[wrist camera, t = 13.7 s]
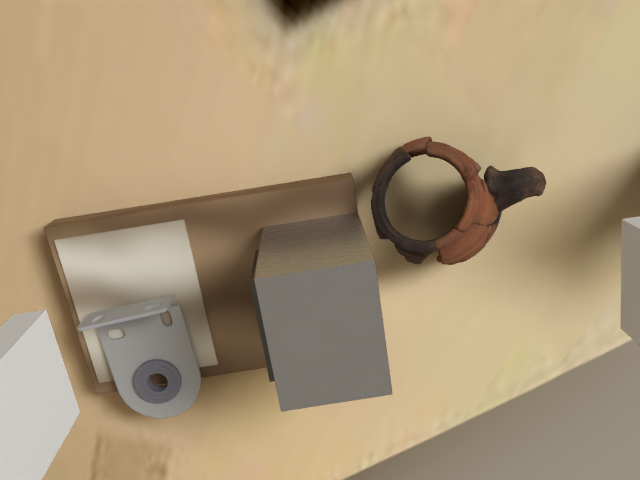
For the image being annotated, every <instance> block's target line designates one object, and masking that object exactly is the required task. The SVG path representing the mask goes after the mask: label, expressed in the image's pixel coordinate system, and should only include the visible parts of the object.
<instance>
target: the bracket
mask: <svg viewBox="0 0 640 480" xmlns="http://www.w3.org/2000/svg"><path fill="white" fill-rule="evenodd" d="M174 299H175V294H173V295H169V296H164V297H160V298H155V299H151V300H147V301H142V302H138V303H133V304H129V305H125V306H120V307H116V308H111V309H107V310H103V311H98V312H94V313H90V314H89V315H88V316H87V317H86V318H85V319H84V320H83V321H82V322H81V323H80V324H79V326H78V327H77V330H78V331H84V330H88V329H92V328H97V331H98V334H99V337H100V340H101V343H102V346H103V348H104V351H105V354H106V357H107V360H108V363H109V366H110V369H111V372H112V374H113V377H114V380H115V383H116V386H117V389H118V391H119V394H120V395H121V397H122V399H123V400H124V401H125V403H126V404H127V405H128V406H129V407H131V408H132V409H133V410H135V411H136V412H138V413H140V414H142V415H145V416H148V417H153V418H168V417H173V416H176V415H179V414H180V413H182V412H184V411H185V410H187V409H188V408H189V407H190V406H191V405H192V404H193V403H194V402H195V400H196V398H197V396H198V394H199V391H200V387H201V373H200V369H199V366H198V363H197V359H196V356H195V353H194V350H193V346H192V343H191V340H190V337H189V333H188V330H187V327H186V324H185V320H184V317H183V314H182V310H181V307H180V304H178V305H174V306H171V304H172V302H173V301H174ZM167 310H168V311H169V312H170V314H171V318H172V321H173V323H172V324H171V325H169V326H167V325H165V324H164V323H163V321H162V318H161V315H160V313H163V312H166V311H167ZM100 319H102V320H101V321H98V320H100ZM96 321H98V322H96ZM114 329H123V330H124V331H125V336H124V337H121V338H116V339H112V338H110V337H109V335H108V332H109V331H110V330H114ZM153 373H160V374H162V375H164V376H165V377H166V378H167V381H168V384H167V385H164V386H157V385H155V384H153V383H152V381H151V380H150V375H151V374H153Z"/></svg>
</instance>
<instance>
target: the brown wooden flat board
mask: <svg viewBox="0 0 640 480" xmlns="http://www.w3.org/2000/svg"><path fill="white" fill-rule="evenodd" d="M354 212H358V211H357V204H356V197H355V190H354V182H353V178H352V175H351V173H346V174H340V175H333V176H327V177H321V178H315V179H308V180H302V181H296V182H289V183H283V184H277V185H271V186H264V187H258V188H252V189H245V190H239V191H233V192H227V193H220V194H214V195H208V196H201V197H195V198H189V199H182V200H176V201H170V202H164V203H157V204H151V205H145V206H138V207H132V208H126V209H120V210H113V211H107V212H101V213H94V214H88V215H82V216H76V217H69V218H63V219H57V220H54V221H52V222H51V223H50V224H48V225H47V226H46V227H44V229H45V233H46V236H47V239H48V242H49V245H50V248H51V252H52V255H53V258H54V261H55V264H56V267H57V270H58V274H59V277H60V280H61V283H62V286H63V289H64V292H65V296H66V299H67V302H68V305H69V308H70V311H71V315H72V318H73V321H74V324H75V327H76V330H77V327H78V326H79V324H80V323H81V322H82V321H83V320H84V319H85V318H86V317H87V316H88V315H89V314H90V313H94V312H98V311H103V310H107V309H111V308H116V307H120V306H125V305H129V304H133V303H138V302H142V301H147V300H151V299H155V298H160V297H164V296H169V295H173V294H175V299H174V301H173V302H172V304H171V306H174V305H178V304H180V307H181V310H182V314H183V317H184V320H185V324H186V327H187V330H188V333H189V337H190V340H191V343H192V346H193V350H194V353H195V356H196V359H197V363H198V366H199V369H200V373H201V377H207V376H213V375H220V374H226V373H233V372H239V371H246V370H252V369H258V368H265V367H267V365H266V360H265V355H264V350H263V346H262V341H261V336H260V331H259V326H258V321H257V317H256V312H255V307H254V302H253V297H252V292H251V288H250V278H251V273H252V267H253V262H254V256H255V251H256V250H259V247H260V241H261V235H262V229H263V227H266V226H272V225H278V224H285V223H291V222H297V221H304V220H310V219H316V218H323V217H329V216H335V215H342V214H348V213H354ZM160 315H161V318H162V321H163V323H164V324H165V325H167V326H169V325H171V324H172V323H173V321H172V318H171V314H170V312H169V311H168V310H167V311H166V312H163V313H160ZM101 320H102V319H100V320H98V321H101ZM98 321H96V322H98ZM77 333H78V337H79V340H80V343H81V346H82V349H83V352H84V355H85V359H86V362H87V365H88V368H89V371H90V374H91V378H92V381H93V384H94V387H95V390H96V393H97V394H98V393H104V392H111V391H117V390H118V389H117V386H116V383H115V380H114V377H113V374H112V372H111V369H110V366H109V363H108V360H107V357H106V354H105V351H104V348H103V346H102V343H101V340H100V337H99V334H98V331H97V328H92V329H88V330H84V331H78V330H77ZM108 335H109V337H110V338H112V339H116V338H121V337H124V336H125V331H124V330H123V329H114V330H110V331H109V332H108ZM150 380H151V381H152V383H153V384H155V385H156V384H162V383H168V381H167V378H166V377H165V376H164V375H162V374H160V373H153V374H151V375H150Z"/></svg>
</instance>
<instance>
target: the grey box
mask: <svg viewBox="0 0 640 480" xmlns="http://www.w3.org/2000/svg"><path fill="white" fill-rule="evenodd" d="M250 288H251V292H252V297H253V302H254V307H255V312H256V317H257V321H258V326H259V331H260V336H261V341H262V346H263V350H264V355H265V360H266V365H267V370H268V375H269V379H270V382H272V381H275V384H276V389H277V394H278V399H279V403H280V408H281V411H288V410H294V409H301V408H307V407H314V406H320V405H327V404H333V403H340V402H346V401H353V400H359V399H365V398H372V397H378V396H385V395H391V394H392V386H391V379H390V371H389V364H388V356H387V348H386V341H385V333H384V326H383V318H382V310H381V303H380V295H379V288H378V280H377V272H376V265H375V259H374V256H373V254H372V251H371V248H370V245H369V242H368V240H367V237H366V234H365V231H364V228H363V226H362V223H361V220H360V217H359V215H358V212H354V213H348V214H342V215H335V216H329V217H323V218H316V219H310V220H304V221H297V222H291V223H285V224H278V225H272V226H266V227H263V229H262V235H261V241H260V247H259V250H256V251H255V256H254V262H253V267H252V273H251V278H250Z"/></svg>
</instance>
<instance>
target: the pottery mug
mask: <svg viewBox="0 0 640 480" xmlns="http://www.w3.org/2000/svg"><path fill="white" fill-rule="evenodd" d="M422 154H427V155H428V156H429V157H435V158H439V159H442V160H445V161H447V162H448V163H450V164H451V165H452V166H453V167H455V168H456V169H457V171H458V172H459V173H460V175H461V177H462V179H463V180H464V182H465V186H466V192H467V197H466V206H465V209H464V212H463V214H462V217H461V218H460V220H459V221H458V223H457V224H456V225H455V227H453V228H452V229H451V230H450V231H449V232H447V233H446V234H444V235H443V236H441V237H438V238H435V239H433V240H429V241H417V240H413V239H410V238H407V237H405V236H403V235H402V234H400V233H399V232H398V231H396V230H395V229H394V227H393V226H392V225H391V223H390V221H389V219H388V217H387V214H386V210H385V192H386V189H387V187H388V184H389V182H390V180H391V178H392V176H393V175H394V174H395V172H396V171H397V170H399V168H400V167H401V166H403V165H404V164H405V163H407V162H409V161H410V160H411V157H414V156H418V155H422ZM480 170H481V167H480V166H479V164H478V163H476V162H475V161H474V160H473V159H472V158H470V157H468V156H467V155H466V154H465V153H464V152H462V151H460V150H458V149H456V148H453V147H451V146H449V145H447V144H444V143H439V142H432V139H431V137H424V138H420V139H417V140H414V141H411V142H409V143H407V144H405V145H404V146H403V147H399V148H398V149H396V150H395V151H394V152H393V154H392V155H391V156H390V157H389V158H388V160H387V161H386V162H385V163H384V165H383V166H382V168H381V169H380V171H379V173H378V175H377V177H376V180H375V182H374V185H373V189H372V192H373V195H372V200H371V209H372V214H373V218H374V222H375V227H376V231H377V234H378V236H379V238H380V239H389V240H390V241H392V242H393V243H394V244H395V248H396V249H397V251H398V252H399V253H400V254H401V255H403V256H404V257H405V259H406V260H407V261H409V262H412V263H415V264H421V263H422V262H423V260H424V259H426V258H427V257H428V256H429V255H430V254H432V253H433V252H434V251H436V250H438V251H439V255H440V256H438V257H437V261H438V262H442V264H448V265H452V264H456V263H459V262H464V261H466V260H468V259H470V258H471V257H473V256H475V255H476V254H477V253H478V252H480V251H481V250H482V249H483V248H484V247H485V245H486V243H487V242H488V241H489V240H490V238H491V237H492V235H493V234H494V232H495V230H496V228H497V226H498V223H499V220H500V217H501V213H502V211H503V210H504V209H506V208H508V207H509V206H511V205H513V204H515V203H518V202H520V201H522V200H524V199H525V198H528V197H532V196H540V195H542V194H543V191H544V189H545V185H546V179H545V177H544V174H543V173H542V172H540V171H539V170H537V169H536V168H534V167H526V168H521V169H514V170H509V171H498V170H497V169H495V168H494V167H493V166H489V167H488V168H487V169H486V171H485V174H484V180H485V182H484V180H483V179H481V178H480V177H479V176H478V172H479V171H480Z"/></svg>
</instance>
